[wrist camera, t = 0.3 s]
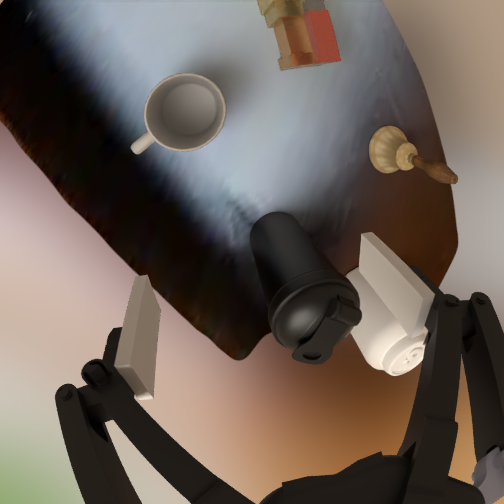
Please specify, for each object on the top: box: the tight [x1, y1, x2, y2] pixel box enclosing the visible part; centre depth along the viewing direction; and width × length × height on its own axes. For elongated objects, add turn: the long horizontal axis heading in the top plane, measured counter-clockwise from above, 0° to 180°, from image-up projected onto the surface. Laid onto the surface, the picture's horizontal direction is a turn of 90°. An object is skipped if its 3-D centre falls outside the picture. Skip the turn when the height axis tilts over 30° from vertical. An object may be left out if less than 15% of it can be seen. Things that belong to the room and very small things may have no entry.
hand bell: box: [369, 126, 458, 184], centre depth 36 cm, size 8×8×16 cm
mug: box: [131, 73, 226, 154], centre depth 31 cm, size 12×8×11 cm
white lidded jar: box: [345, 267, 428, 376], centre depth 48 cm, size 12×12×20 cm
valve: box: [257, 0, 332, 70], centre depth 27 cm, size 20×7×7 cm, turn 13°
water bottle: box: [250, 212, 362, 364], centre depth 37 cm, size 10×10×23 cm
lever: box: [300, 0, 341, 64], centre depth 23 cm, size 15×2×4 cm, turn 13°
